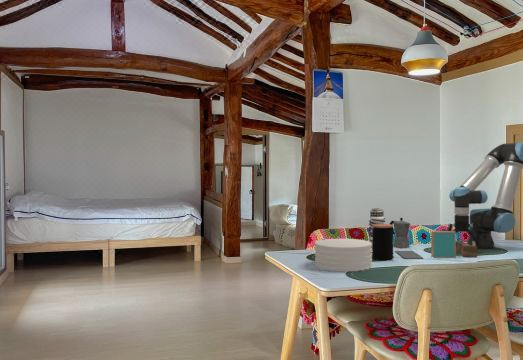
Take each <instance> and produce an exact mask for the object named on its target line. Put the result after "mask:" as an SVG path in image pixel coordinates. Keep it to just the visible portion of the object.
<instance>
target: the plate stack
mask: <svg viewBox="0 0 523 360" xmlns="http://www.w3.org/2000/svg"><path fill="white" fill-rule="evenodd" d="M314 246H315V247H314V251H315V252H314V256H315V257H314V261H315V263H314V266H315V265H316V266H317V267H316V266H315V267H316V268H318V267H319V269H321V268H322V269H321V270H325V269H326V270H325V271H331V270H332V272H358V271H359V270H361V271H365V269H367V270H369V268H370V269H372V267H373V263H372V261H373V253H372V248H371V247H372V243H371V241H370V240H369V241H368V240H364V239H357V238H326V239H320V240H316V241H314ZM359 272H360V271H359Z"/></svg>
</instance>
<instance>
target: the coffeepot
mask: <svg viewBox="0 0 523 360" xmlns="http://www.w3.org/2000/svg"><path fill="white" fill-rule="evenodd" d="M399 219H400V220H398V221H396V220H391V221H390V223H389V224H390V225H393V227H392V229H393V235H395V237H394V240H393V248H395V249H396V248H397V249H408V248H410V241H409V237H408V234H409V229H410V227H411V223H410V222H408V221H404V220H403V217H399Z"/></svg>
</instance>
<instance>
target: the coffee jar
mask: <svg viewBox="0 0 523 360" xmlns="http://www.w3.org/2000/svg"><path fill="white" fill-rule="evenodd" d="M392 227H393V229H394V224H392V225H390V223H388V224H387V223H383V224H374V225H373V230H372V232H373V253H372V259H374V258H375V259H374V260H376V259H379V260H378V261H392V259H393V258H394V234H393V229H392Z"/></svg>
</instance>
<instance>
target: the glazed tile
mask: <svg viewBox="0 0 523 360" xmlns="http://www.w3.org/2000/svg"><path fill="white" fill-rule="evenodd" d="M430 234H431V236H430V237H431V241H430V242H431V244H430V245H431V247H430V249H431V251H430V252H431V258H432V257H433V258H432V259H434V258H435V259H442V258H443V259H456V258H457V252H456V241H457V239H456V238H457V237H456V236H457V233H456V232H455V231H454V230H451V231H447V230H432V231H431V233H430Z"/></svg>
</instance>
